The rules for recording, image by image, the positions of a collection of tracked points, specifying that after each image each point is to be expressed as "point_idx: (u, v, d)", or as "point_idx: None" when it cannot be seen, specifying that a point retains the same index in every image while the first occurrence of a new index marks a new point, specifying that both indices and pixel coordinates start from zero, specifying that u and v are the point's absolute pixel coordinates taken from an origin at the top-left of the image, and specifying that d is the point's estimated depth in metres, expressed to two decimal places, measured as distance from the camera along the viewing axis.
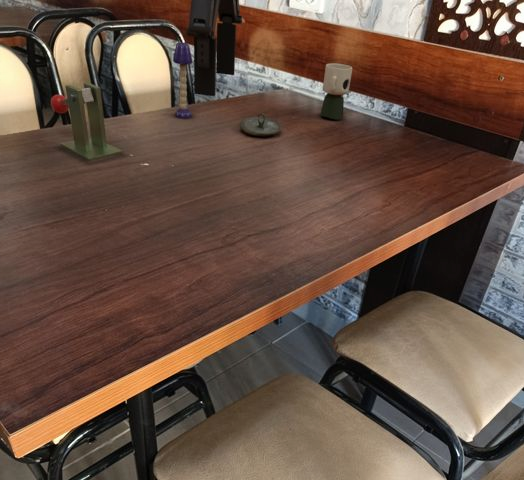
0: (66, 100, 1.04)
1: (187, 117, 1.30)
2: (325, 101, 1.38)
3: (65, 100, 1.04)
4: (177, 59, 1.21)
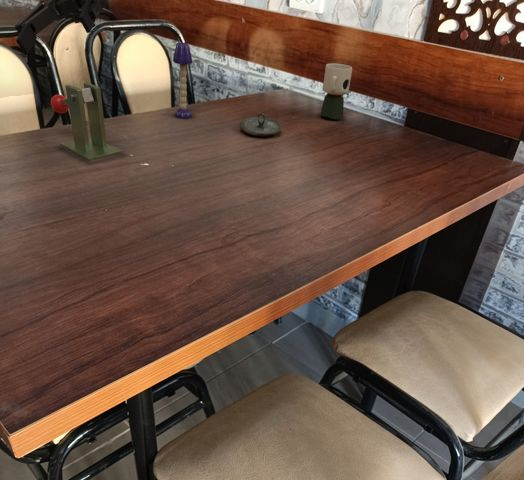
0: (66, 100, 1.04)
1: (187, 117, 1.30)
2: (325, 101, 1.38)
3: (65, 100, 1.04)
4: (177, 59, 1.21)
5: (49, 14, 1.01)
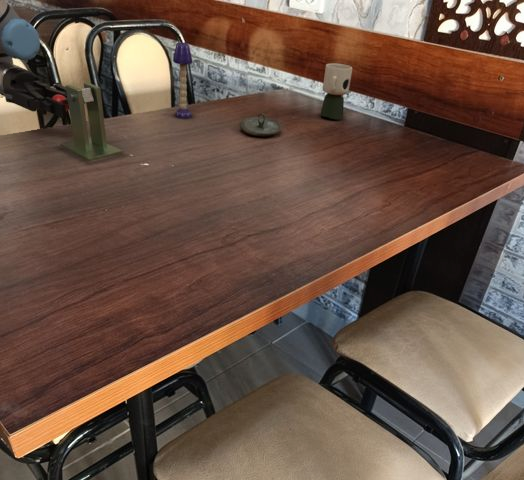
0: (66, 100, 1.04)
1: (187, 117, 1.30)
2: (325, 101, 1.38)
3: (65, 100, 1.04)
4: (177, 59, 1.21)
5: None
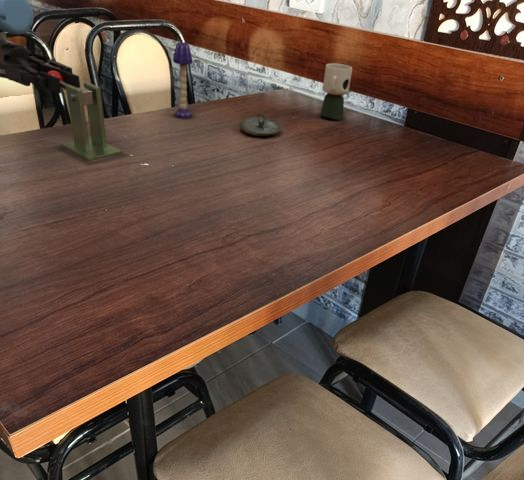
0: (63, 85, 1.02)
1: (187, 117, 1.30)
2: (325, 101, 1.38)
3: (62, 85, 1.02)
4: (177, 59, 1.21)
5: None
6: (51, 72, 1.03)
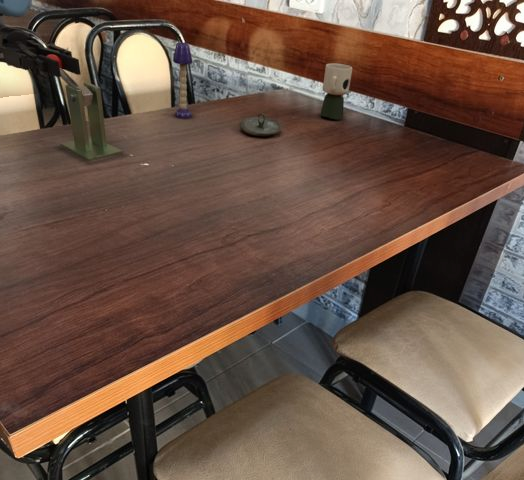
0: (62, 76, 1.01)
1: (187, 117, 1.30)
2: (325, 101, 1.38)
3: (61, 74, 1.01)
4: (177, 59, 1.21)
5: None
6: (51, 57, 1.01)
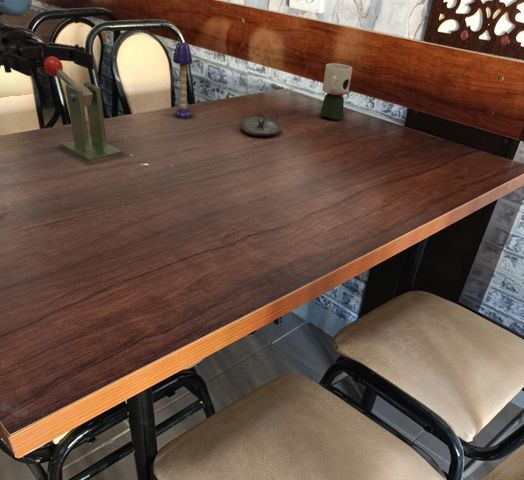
0: (62, 77, 1.01)
1: (187, 117, 1.30)
2: (325, 101, 1.38)
3: (61, 76, 1.01)
4: (177, 59, 1.21)
5: (16, 54, 1.04)
6: (51, 59, 1.01)
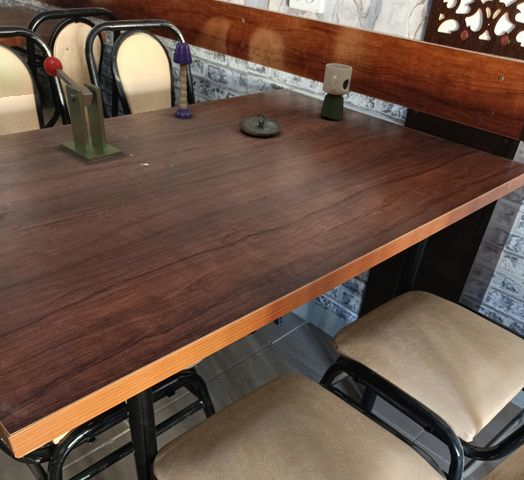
0: (62, 77, 1.01)
1: (187, 117, 1.30)
2: (325, 101, 1.38)
3: (61, 76, 1.01)
4: (177, 59, 1.21)
5: None
6: (51, 59, 1.01)
